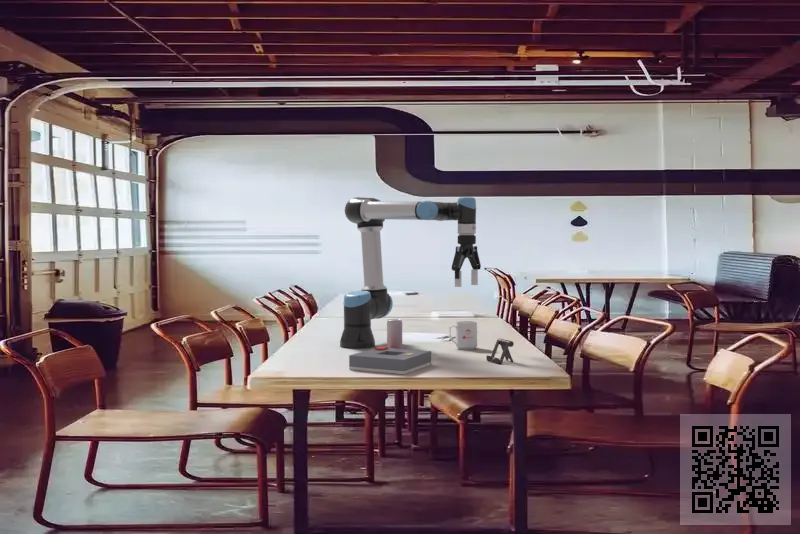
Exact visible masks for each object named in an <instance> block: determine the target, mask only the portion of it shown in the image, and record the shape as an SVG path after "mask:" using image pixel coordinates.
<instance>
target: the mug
mask: <svg viewBox="0 0 800 534" xmlns="http://www.w3.org/2000/svg"><path fill="white" fill-rule="evenodd" d="M451 328H455V340H454V339H452V333H451V330H452V329H451ZM448 334H449V335H448V337H449V340H451V342H452V343H454V344H455V346H456V348H457V349H459V350H464V351H465V350H466V351H467V350H468V351H470V350H476V348H478V322H477V321H474V320H463V321H462V320H461V321H459V320H458V321H456V322H455V325H449V326H448Z"/></svg>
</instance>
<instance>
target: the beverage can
mask: <svg viewBox="0 0 800 534" xmlns="http://www.w3.org/2000/svg"><path fill="white" fill-rule="evenodd" d="M386 321H387V322H386V347H388V348H396V349H403V320H402V319H400V318H389V319H387V320H386Z"/></svg>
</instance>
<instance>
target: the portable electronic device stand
mask: <svg viewBox="0 0 800 534" xmlns="http://www.w3.org/2000/svg"><path fill="white" fill-rule="evenodd" d="M514 344H515V343H514V341H512V340H509V339H504V338H497V339H496V342H495V344H494V347H493V350H492V353H491V355H487V354H486V361H487V362H491V363H494V364H497V365H502V364H503V362H504V359H505V360H506V361H507V362H509V360H510V362H511V363H513V362H514V360H513V357H512V355H511V352H510V350H509V347H510V348H512V347H514ZM499 346H500V347H501V349H502V353H501V355H500V358H498V357H495V356H496V353H497V350H498V348H499Z"/></svg>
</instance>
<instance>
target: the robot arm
mask: <svg viewBox="0 0 800 534" xmlns="http://www.w3.org/2000/svg"><path fill="white" fill-rule="evenodd" d="M344 213H345V214H344V215H345V217H346V218H347V219H348V221H349V222H351V223H353V224H356V226H357V227H356V228H357V230H358V231H359V232H360V237H361V251H362V252H361V253H362V254H361V255H362V266H363V270H362V271H363V284H364V285H363V286H362V288H361V290H356V291H350V292H347V293H346V294H345V295H344V296H343V331H342V333H341V336H340V341H339V347H342V348H348V349H362V348H363V349H364V348H365V349H366V348H371V347H375V346H376V340H375V336H374V334H373V330H372V326H371V325H372V320H376V319H377V320H378V319H382V318H384V317H386V316H388V315H389V314H390V313H391V312H392V309H393V306H394V304H393V298H392V296H391V295H390V294H389V293H388V288H387V286H386V285H385V284H384V277H383V275H384V274H383V257H382V241H381V240H382V239H381V231H382V230H383V228H384V222H385V220H402V221H403V220H404V221H405V220H407V221H408V220H410V221H411V220H412V221H414V220H415V221H417V220H418V221H421V220H422V221H438V222H442V221H457V234H458V235H457V244H458V245H460V246H458V245H457V246H455V253H454V257H453V260H452V264H451V270H452V271H454V287H455V288H462V267H463V265H464V262H465V260H466V259H468V262H469V263H470V266H471V268H472V269H471V272H470V273H471V274H470V275H471V278H470V280H471V281H470V282H471V283H470V285H471V286H478V285H479V283H478V282H479V281H478V280H479V274H478V273H479V271H478V270H481V267H482V265H481V261H480V260H481V259H480V256H479V253H478V246H477V245H476V244H477V243H476V242H477V240H476V239H477V236H476V233H477V230H476V229H477V225H476V224H477V223H476V222H477V200H476V198H475V197H472V196H471V197H470V196H462V197H460V196H459V197H458V198H457V202H443V201H442V202H441V201H431V200H424V201H420V200H419V201H408V200H407V201H406V200H405V201H404V200H403V201H401V200H400V201H399V200H398V201H393V200H391V201H390V200H386V201H384V200H383V201H382V200H380V199H378V198H374V197H360V196H358V197H357V196H356V197H352V198H351V199H349V200H348V201H347V202H346V204H345V206H344Z"/></svg>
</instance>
